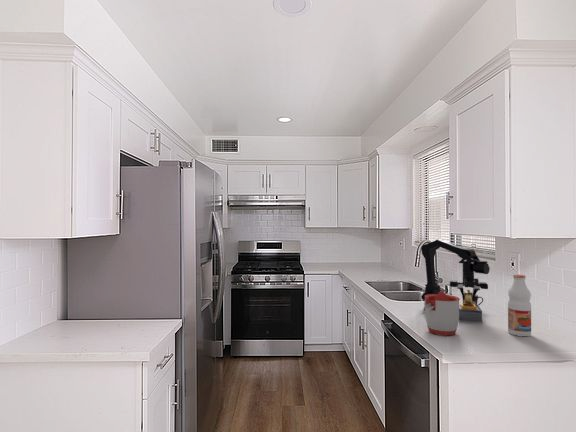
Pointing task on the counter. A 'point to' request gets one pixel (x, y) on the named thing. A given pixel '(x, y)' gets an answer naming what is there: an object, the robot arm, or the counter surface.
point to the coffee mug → (475, 300)
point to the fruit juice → (519, 308)
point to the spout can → (468, 297)
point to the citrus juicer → (442, 313)
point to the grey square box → (470, 312)
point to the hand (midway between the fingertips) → (468, 300)
